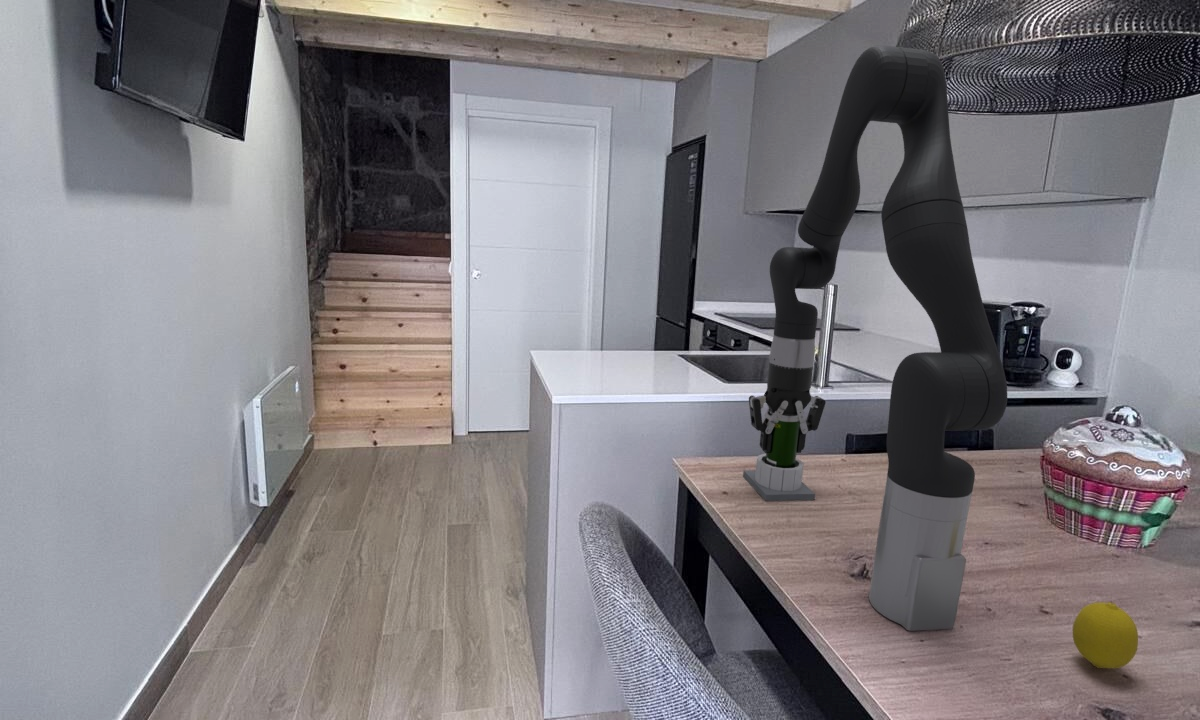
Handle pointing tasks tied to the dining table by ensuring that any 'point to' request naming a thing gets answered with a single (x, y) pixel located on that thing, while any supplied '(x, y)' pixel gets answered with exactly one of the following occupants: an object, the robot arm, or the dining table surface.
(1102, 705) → the dining table surface
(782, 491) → the flanged pipe fitting
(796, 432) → the beer can
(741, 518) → the dining table surface
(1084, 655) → the lemon
